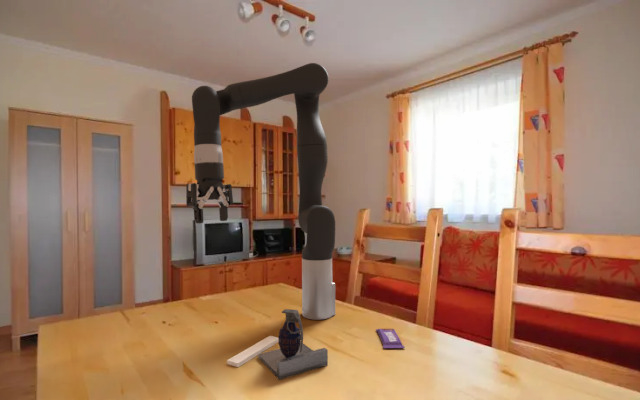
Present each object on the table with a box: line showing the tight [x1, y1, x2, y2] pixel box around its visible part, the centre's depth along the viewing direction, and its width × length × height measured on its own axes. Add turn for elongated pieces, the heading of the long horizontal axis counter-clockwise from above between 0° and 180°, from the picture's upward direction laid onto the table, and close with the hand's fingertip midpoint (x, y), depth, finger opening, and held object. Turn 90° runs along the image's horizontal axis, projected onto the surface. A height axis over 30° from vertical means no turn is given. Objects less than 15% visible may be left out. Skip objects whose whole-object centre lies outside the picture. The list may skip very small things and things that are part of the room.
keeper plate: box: [257, 343, 329, 381], centre depth 72 cm, size 11×11×3 cm
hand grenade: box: [278, 308, 304, 358], centre depth 72 cm, size 6×5×10 cm
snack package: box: [375, 328, 405, 349], centre depth 83 cm, size 12×2×5 cm
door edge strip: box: [226, 335, 279, 368], centre depth 77 cm, size 15×3×1 cm, turn 152°
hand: (212, 222), depth 91 cm, fingers open, 8 cm apart
